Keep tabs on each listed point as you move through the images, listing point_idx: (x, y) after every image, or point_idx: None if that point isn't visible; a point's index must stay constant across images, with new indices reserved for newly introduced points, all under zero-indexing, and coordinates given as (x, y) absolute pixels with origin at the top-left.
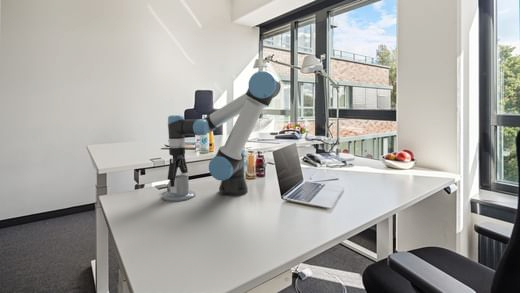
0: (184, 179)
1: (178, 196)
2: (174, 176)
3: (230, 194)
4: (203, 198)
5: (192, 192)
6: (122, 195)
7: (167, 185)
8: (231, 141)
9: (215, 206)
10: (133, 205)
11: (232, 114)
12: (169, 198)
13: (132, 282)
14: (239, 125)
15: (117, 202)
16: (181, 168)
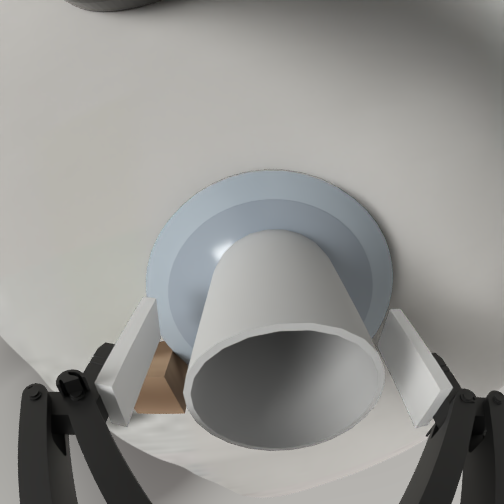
0: (365, 329)
1: (344, 286)
2: (474, 414)
3: None
4: (328, 85)
5: (224, 204)
6: (255, 480)
7: (184, 411)
8: None
9: (467, 20)
10: (393, 419)
11: None
12: (375, 327)
13: None
14: None
15: (341, 464)
16: (134, 476)
